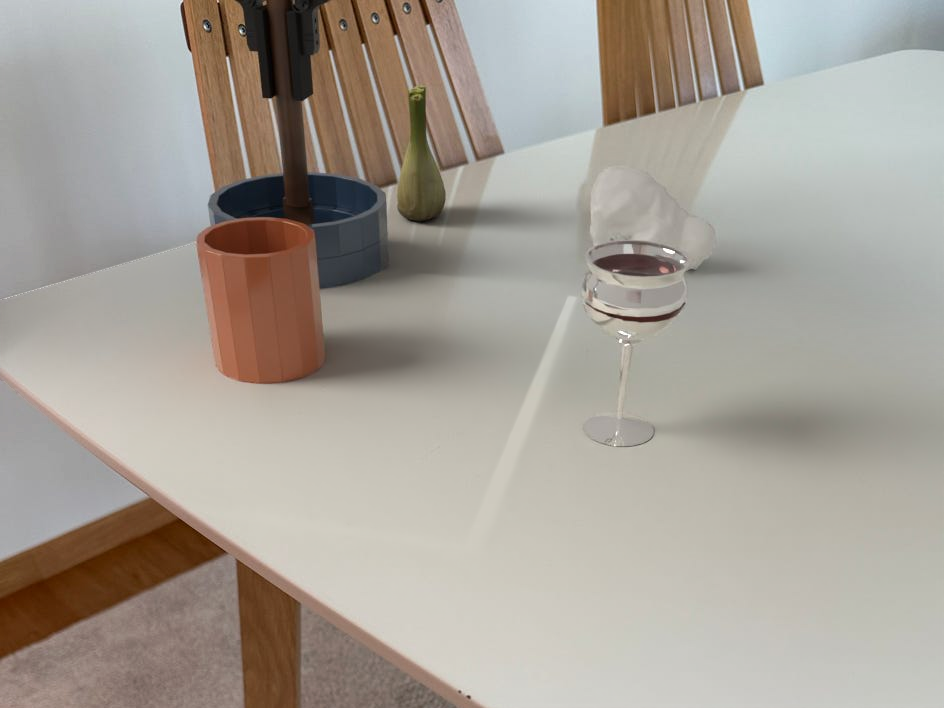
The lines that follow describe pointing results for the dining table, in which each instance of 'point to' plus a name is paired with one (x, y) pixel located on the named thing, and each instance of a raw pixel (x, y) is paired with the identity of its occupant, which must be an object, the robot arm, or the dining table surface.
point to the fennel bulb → (419, 167)
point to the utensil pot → (262, 298)
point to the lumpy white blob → (646, 214)
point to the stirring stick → (289, 118)
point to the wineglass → (631, 315)
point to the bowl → (320, 220)
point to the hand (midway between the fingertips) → (288, 95)
